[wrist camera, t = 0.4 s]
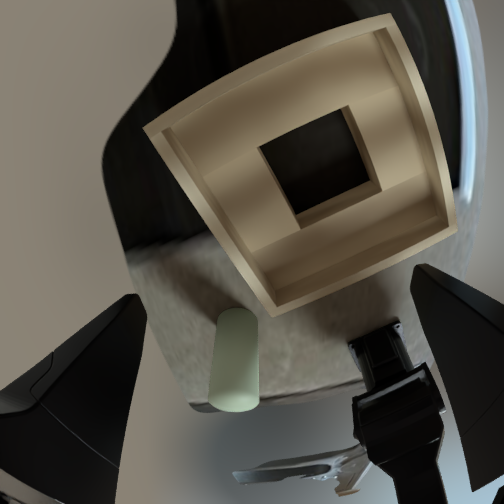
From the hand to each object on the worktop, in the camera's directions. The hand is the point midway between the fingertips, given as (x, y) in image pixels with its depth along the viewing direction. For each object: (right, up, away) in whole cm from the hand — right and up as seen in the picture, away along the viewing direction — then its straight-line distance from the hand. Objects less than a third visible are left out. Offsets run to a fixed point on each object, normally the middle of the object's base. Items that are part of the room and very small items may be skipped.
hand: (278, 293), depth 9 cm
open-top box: (+4, +8, +11) cm, 14 cm away
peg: (-2, -6, +20) cm, 21 cm away
